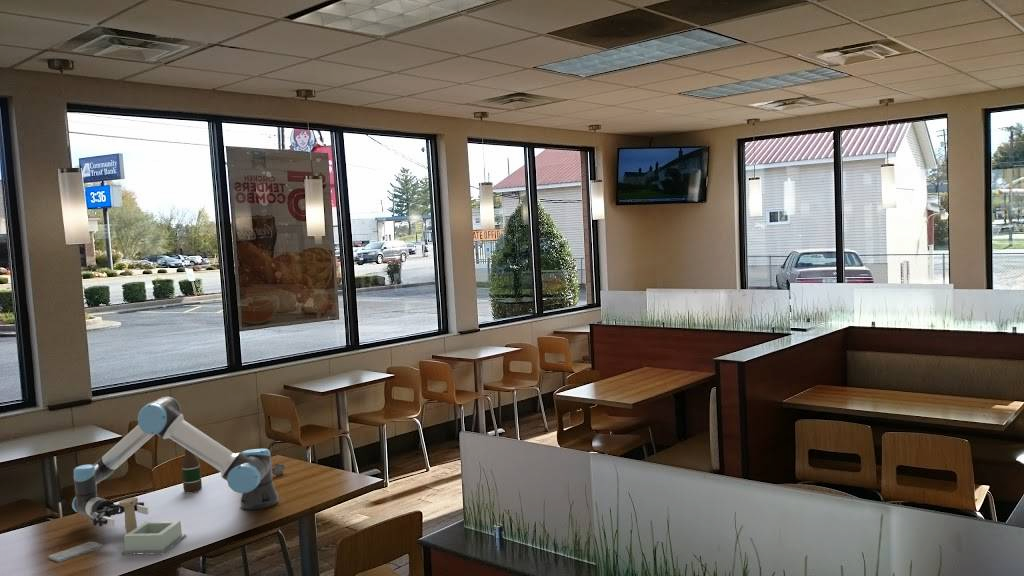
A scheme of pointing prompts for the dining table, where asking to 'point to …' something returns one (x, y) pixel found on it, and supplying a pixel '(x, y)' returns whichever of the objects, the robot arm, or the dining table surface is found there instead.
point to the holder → (153, 537)
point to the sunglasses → (278, 469)
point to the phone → (75, 551)
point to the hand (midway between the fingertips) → (130, 516)
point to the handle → (129, 513)
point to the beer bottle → (191, 472)
